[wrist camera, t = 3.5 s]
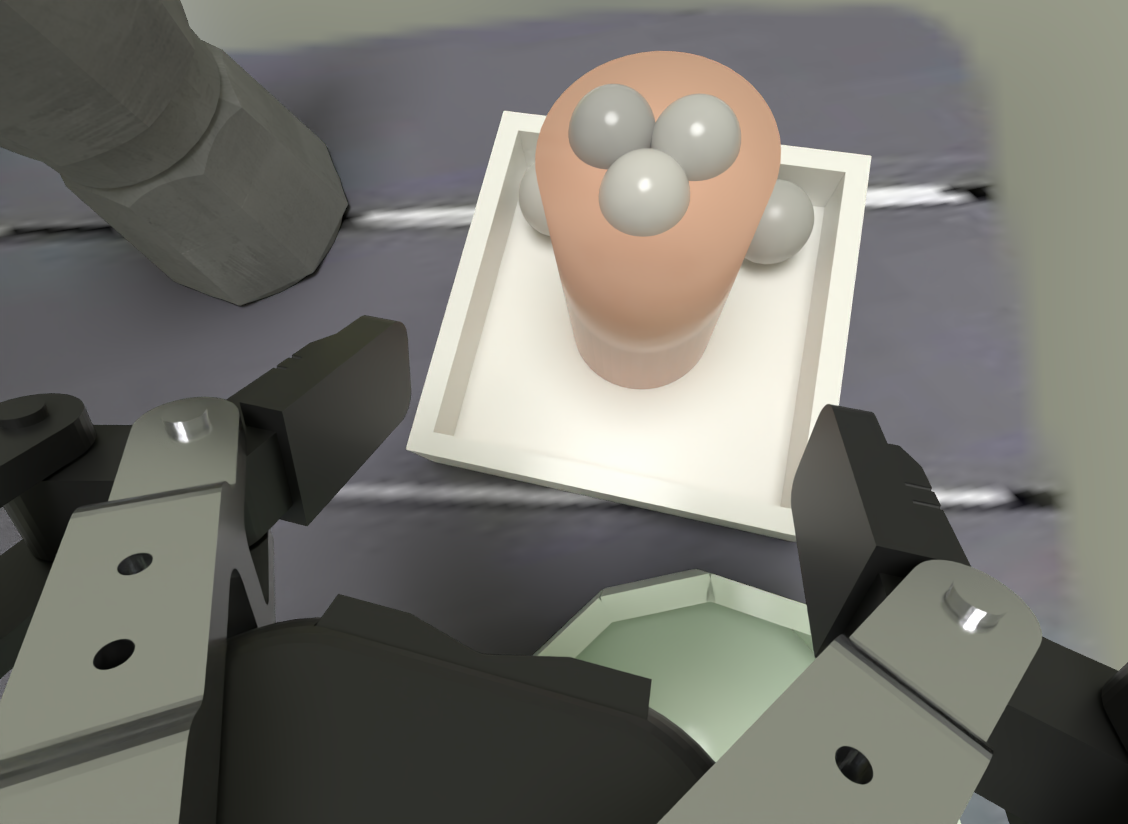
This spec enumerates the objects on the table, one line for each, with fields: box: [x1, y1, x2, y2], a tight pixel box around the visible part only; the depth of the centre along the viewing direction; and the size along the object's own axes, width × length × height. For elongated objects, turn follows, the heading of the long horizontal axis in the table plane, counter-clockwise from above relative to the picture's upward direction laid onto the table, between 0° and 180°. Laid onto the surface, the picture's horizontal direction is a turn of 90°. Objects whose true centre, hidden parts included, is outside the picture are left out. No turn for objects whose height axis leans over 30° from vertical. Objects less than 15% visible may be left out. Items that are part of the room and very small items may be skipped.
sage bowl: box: [533, 569, 961, 824], centre depth 17 cm, size 13×13×4 cm
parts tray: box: [406, 111, 871, 542], centre depth 21 cm, size 14×14×4 cm
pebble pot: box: [535, 51, 781, 389], centre depth 17 cm, size 5×5×11 cm
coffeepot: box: [0, 0, 348, 306], centre depth 18 cm, size 15×9×18 cm, turn 136°
